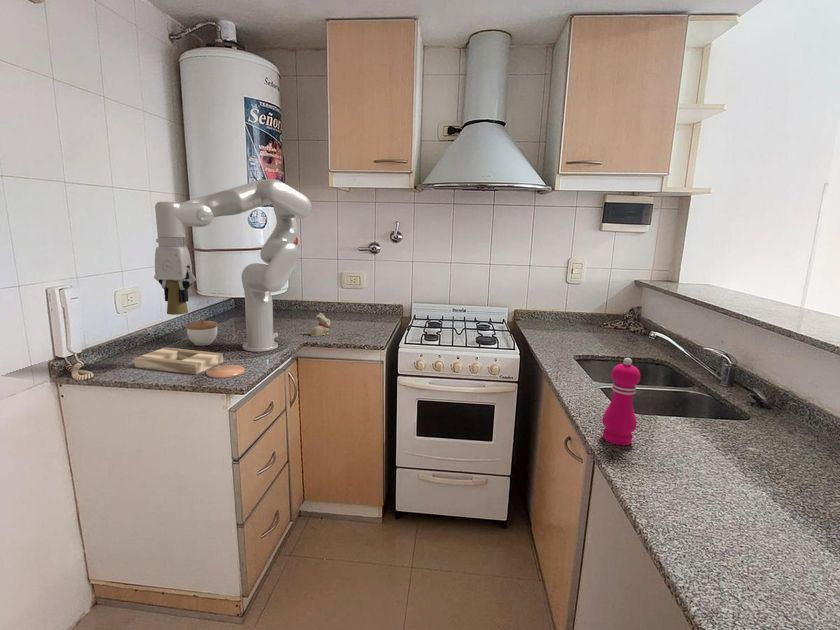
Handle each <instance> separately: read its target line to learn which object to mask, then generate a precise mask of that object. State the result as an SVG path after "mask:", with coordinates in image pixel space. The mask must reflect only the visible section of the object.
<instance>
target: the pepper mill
mask: <svg viewBox="0 0 840 630" xmlns="http://www.w3.org/2000/svg"><path fill="white" fill-rule="evenodd" d="M632 363H633V360H632V358H630V357H625V358H624V359H623V362H622V363H619V364H617V365H615V366H614V367H613V368H612V370H611V373H610V374H611V375H610V377H611V379H612V380H613V382H612V386H611V389H612V391H613V393H612V398H611V401H610V403H609V405H608V406H607V408H606V409H605V411H604V413H603V416H602V421H601V422H602V424H603V426H604V427H605V428H603V430H602V439H603V440H604V441H606V442H607V441H608V442H607V443H609V442H610V443H609V444H612V443H613V444H612V445H615V444H616V445H615V446H620V445H622V446H621V447H623V446H625V445H627V446H630V445H631V444H632V441H633V434H632V433H634V432H635V430H636V429H637V417H636V413H635V410H634V408H633V407H634V406H633V399H634V394H636V393H637V392H636V390H637V384H639V382H640V381H641V372H640V370H639V369H638V367H636V366H634V365H633V364H632Z"/></svg>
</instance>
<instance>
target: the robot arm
mask: <svg viewBox="0 0 840 630" xmlns="http://www.w3.org/2000/svg"><path fill="white" fill-rule="evenodd" d="M265 205H272V206H273V211H274V214H275V219H276V221H275V222H276V224H275V226H274V229H273V230H272V232H271V234H270V236H268V238H267V239H266V241H265V243H264V244H263V246H262V247H261V249H260V253H259V255H260V259H261V260H262V261H263V263H257V262H254V263H250V264H248V265H246V266H245V267H244V268H243V270H242V272H241V283H242V289H243V291H244V292H243V294H244V303H245V307H244V308H245V327H246V342H245V343H243V344H242V350H244V351H247V352H253V353H254V352H257V353H258V352H267V351H268V352H269V351H273V350H276V349H277V348H278V347H279V342H276V341H275V339H276V338H278V336H279V333H278V332H276V331H275V332H274V315H273V314H274V311H273V307H274V304H273V297H272V293H276V292H279V291H281V289H283V288H284V286H285V285H286V283H287V282H288V281H289V279H290V277H291V276H292V274H293V272H294V270H295V269H296V268H297V266H298V264H299V262H300V258H301V257H300V256H301V253H300V252H301V251H300V249H299V247H298V246H297V244H295V241H296V240H297V238H298V235H299V227H298V223H297V219H305V218H308V216H309V215H311V212H312V210H313V209H312V202H311V201H310V199H309V198H308V197H307V196H306V195H305V194H304V193H302V192H300V191H298V190H297V189H294V187H292V186H290V185H288V184H287V183H284V182H282V181H281V180H279V179H274V178H272V179H271V178H269V179H259V180H258V179H257V180H255V181H250V182H248V183H245V184H242V185H238V186H235V187H232V188H228V189H224V190H220V191H218V192H214V193H211V194H206V195H203V196H199V197H195V198H193V199H189V200H186V201H183V202H177V201H157V202H156V203H155V206H154V209H155V210H154V211H155V220H156V221H155V222H156V223H155V224H156V232H157V233H156V234H157V238H156V240H155V241H156V243H157V244H158V245H157V247H156V248H155V252H154V253H155V254H154V274H155V275H154V276H153V279H155V280H156V281H157V282H158V283H159V285H160V286H161V288H162V289H163V292H164V294H163V295H164V301H165V302H168V288H167V287H166V281H167V280H174V281H178V283H179V286H180V289H181V290H179V302H180V303H183V302H186V303H187V302H188V301H189V291H188V290H190V287H191V286H192V285H193V284H194V283H195V282H196V281H197V278H196V277H195V275H194V274H193V266H192V260H191V259H192V258H191V254H190V251H189V248H188V247H187V240H186V237H187V236H186V227H193V228H203V227H207V226H209V225H210V224H211V223H212V222H213V219H214V218H218V217H226V216H227V217H228V216H235V215H240V214H243V213H246V212H248V211H250V210H254V209H257V208H260V207H263V206H265ZM264 263H265V264H264ZM183 281H184V284H183Z"/></svg>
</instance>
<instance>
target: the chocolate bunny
mask: <svg viewBox="0 0 840 630" xmlns="http://www.w3.org/2000/svg"><path fill="white" fill-rule="evenodd" d="M315 319H316V320H317V322H318V325H315V326H314V327H313V328H312V330H311V332H310V333H309V336H310V335H325V334H329V331H330V329H331V328H330V327H331V325H332V324H331V319H329V318H326V316H325V315H324V314H323V313H321V312H319V313H318V314H317V315H315Z"/></svg>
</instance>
